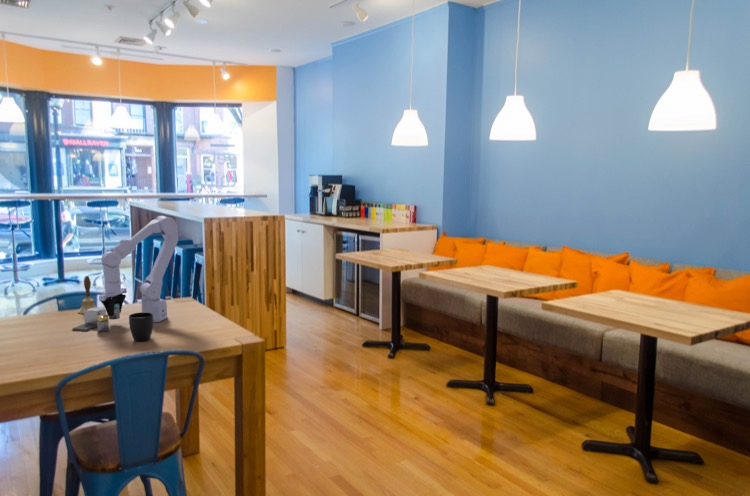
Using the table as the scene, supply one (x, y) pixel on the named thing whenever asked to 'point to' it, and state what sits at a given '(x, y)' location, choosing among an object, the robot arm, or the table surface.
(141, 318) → the mug
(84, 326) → the pad
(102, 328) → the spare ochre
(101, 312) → the control box
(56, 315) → the table surface
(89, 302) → the hand bell
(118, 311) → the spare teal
